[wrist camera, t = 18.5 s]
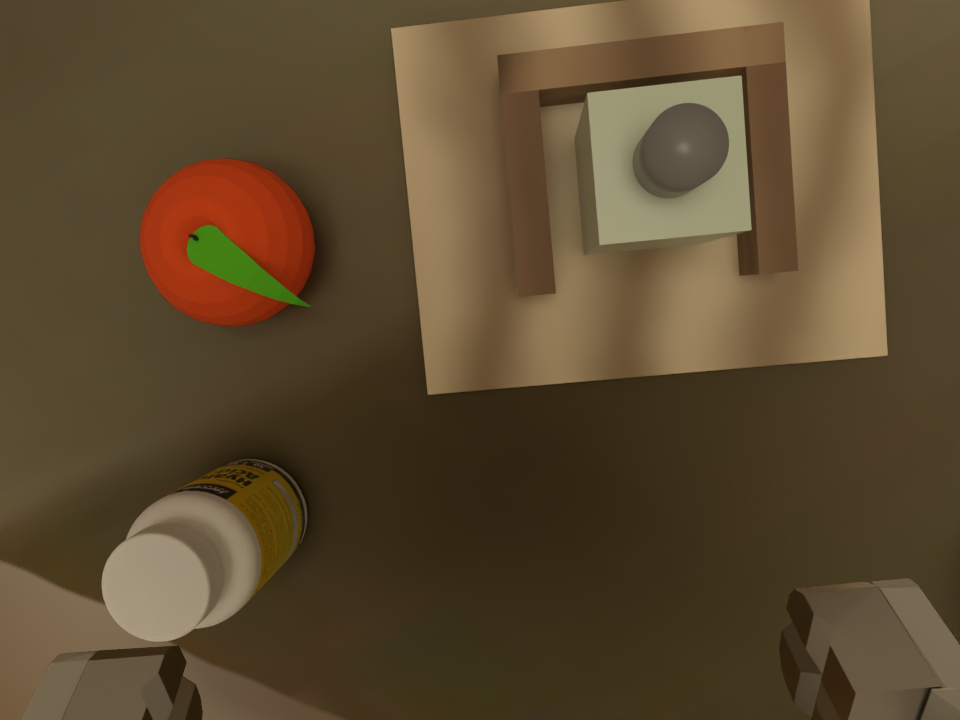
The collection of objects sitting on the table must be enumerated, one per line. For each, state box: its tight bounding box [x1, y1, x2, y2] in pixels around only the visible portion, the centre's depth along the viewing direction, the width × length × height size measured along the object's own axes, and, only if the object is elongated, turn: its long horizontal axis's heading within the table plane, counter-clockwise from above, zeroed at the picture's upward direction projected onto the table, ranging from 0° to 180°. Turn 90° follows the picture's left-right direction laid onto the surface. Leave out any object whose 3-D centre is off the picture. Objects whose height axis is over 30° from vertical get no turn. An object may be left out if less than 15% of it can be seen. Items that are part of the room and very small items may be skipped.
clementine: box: [140, 158, 315, 326], centre depth 33 cm, size 8×7×7 cm
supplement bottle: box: [102, 459, 307, 642], centre depth 33 cm, size 5×5×10 cm
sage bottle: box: [574, 75, 752, 255], centre depth 28 cm, size 5×5×11 cm
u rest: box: [391, 0, 888, 395], centre depth 33 cm, size 20×16×4 cm
